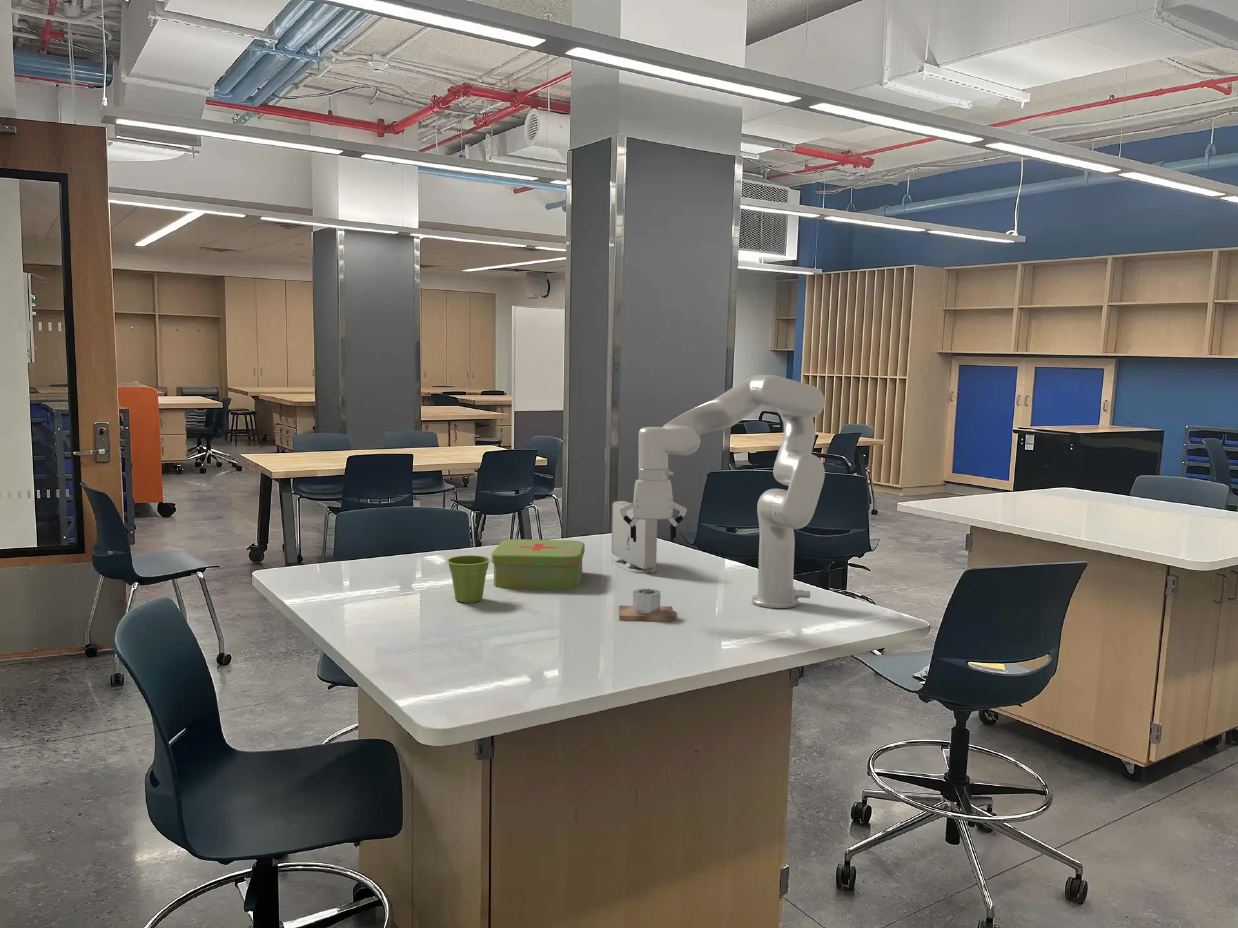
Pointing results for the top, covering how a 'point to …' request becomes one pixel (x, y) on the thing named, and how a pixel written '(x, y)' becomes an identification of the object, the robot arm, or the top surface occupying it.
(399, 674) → the top surface
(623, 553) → the network device
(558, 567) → the first aid kit
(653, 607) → the steel ring
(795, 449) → the robot arm
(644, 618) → the post block
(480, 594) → the plant pot
